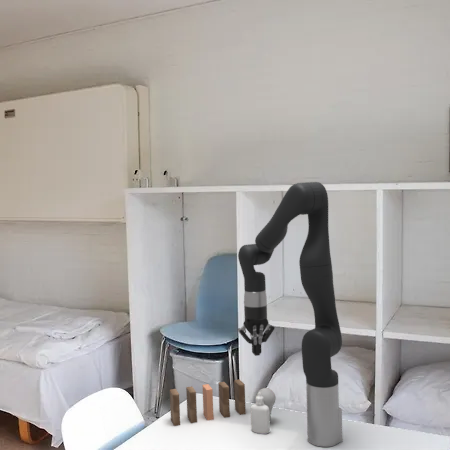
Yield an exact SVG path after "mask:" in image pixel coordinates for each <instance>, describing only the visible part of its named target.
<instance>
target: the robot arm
mask: <svg viewBox="0 0 450 450" xmlns="http://www.w3.org/2000/svg"><path fill="white" fill-rule="evenodd" d="M300 215H301V216H302V215H303V216H304V215H307V222H308V231H307V236H306V239H305V241H304V244H303V246H302V249H301V252H300V256H299V262H298V264H299V273H300V281H301V285H302V288H303V290H304V292H305V294H306V295H307V297H308V300H309V301H310V303H311V306H312V308H313V315H314V328H313V329H309V330H308V331H306V332H305V334H304V335H303V337H302V339H301V360H302V370H303V371H302V372H303V374H304V376H305V383H306V384H305V385H306V387H305V388H306V424H307V425H306V429H307V430H306V433H307V442H309V443H310V444H312V445H314V446H317V447H324V448H327V447H333V446H336V445H338V444H339V443H340V442H341V443H342V442H343V409H342V408H341V407H340V399H339V398H340V397H339V395H340V394H339V393H340V392H339V374H338V372H337V371H336V370H334V369H333V368H332V357H335V356H336V355H337V354H338V353H339V352H340V351H341V349H342V345H343V337H342V330H341V326H340V322H339V317H338V313H337V306H336V296H335V295H336V294H335V288H334V276H333V275H334V274H333V264H332V257H331V248H330V234H329V232H330V231H329V197H328V192H327V189H326V186H325V185H323V184H322V183H321V182H318V181H309V182H297V183H294V184H292V185H290V187H289V188H288V189H287V191H286V192H285V194H284V195H283V198H282V200H281V201H280V203H279V205H278V206H277V208H276V210H275V212H274V214H272V217H271V218H270V220H269V221H268V222H266V223H267V224H266V225H265V226H264V227H263V228H262V229H261V230H260V231H259V232H258V233H257V235H256V237H255V240H254V243H251V244H250V243H249V244H244V245H242V246H241V247H240V248H239V250H238V255H237V257H238V262H239V265H240V268H241V272H242V275H243V276H242V277H243V282H244V285H243V286H244V293H243V306H244V307H243V308H244V311H243V312H244V315H243V316H244V321H243V325H242V326H241V327H239V328H237V332H238V333H239V334H240V336H242V338H243V340H245V341H246V342H247V343H248V344H249V345H251V352H252V354H253V355H254V356H256V357H257V356H261V354H262V344H263V343H266V342H267V341H268V340H269V338H270V336H271V335H272V334H273V332H274V331H275V326H274V325H272V324H270V321H269V320H268V304H267V303H268V300H267V298H268V297H267V291H266V289H267V288H266V275H265V273H263V272H261V271H256V268H255V266H257V265H258V266H260V265H264V264H266V263H267V262H269V261H270V259H271V258H272V256H273V253H274V251H275V249H276V248H277V247H278V245H280V244H281V242H283V240H284V239H285V237H286V235H287V233H288V228H289V227H288V225H289V224H290V222H291V221H293V220H294V219H295V218H297V217H299V216H300ZM247 332H248V333H249V336H250V337H249V336H248V335H247V334H246V333H247Z"/></svg>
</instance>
